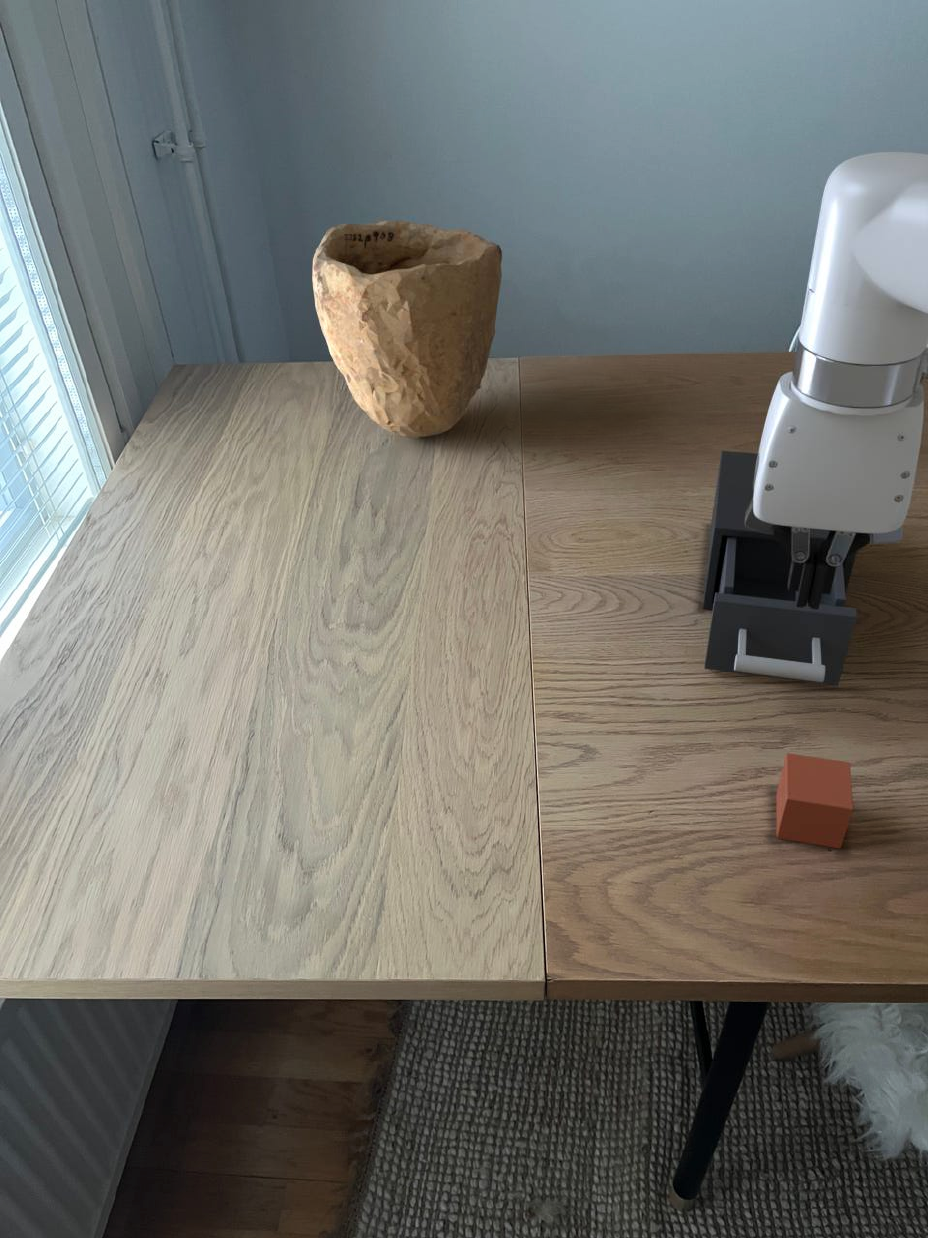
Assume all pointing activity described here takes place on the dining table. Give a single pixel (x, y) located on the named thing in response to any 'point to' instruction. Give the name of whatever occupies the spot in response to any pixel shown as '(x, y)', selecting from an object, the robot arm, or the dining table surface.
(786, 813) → the block
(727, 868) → the dining table surface
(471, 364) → the rough clay pot
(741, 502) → the drawer cabinet
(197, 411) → the dining table surface
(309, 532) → the dining table surface
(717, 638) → the dark grey drawer
